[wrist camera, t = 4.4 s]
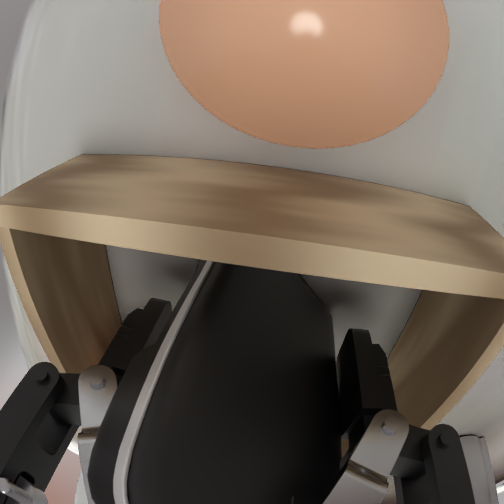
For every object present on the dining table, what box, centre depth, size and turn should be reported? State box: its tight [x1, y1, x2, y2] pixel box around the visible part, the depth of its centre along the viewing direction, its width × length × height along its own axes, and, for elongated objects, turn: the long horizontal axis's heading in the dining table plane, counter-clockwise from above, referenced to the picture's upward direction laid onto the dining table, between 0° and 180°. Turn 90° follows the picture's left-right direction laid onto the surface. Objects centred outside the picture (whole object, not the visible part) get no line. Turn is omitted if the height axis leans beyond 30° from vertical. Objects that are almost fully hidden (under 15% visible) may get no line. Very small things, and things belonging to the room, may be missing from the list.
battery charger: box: [87, 259, 342, 504], centre depth 9 cm, size 7×4×11 cm, turn 40°
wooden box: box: [0, 155, 504, 456], centre depth 12 cm, size 17×14×6 cm
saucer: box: [159, 0, 449, 149], centre depth 8 cm, size 10×10×1 cm
